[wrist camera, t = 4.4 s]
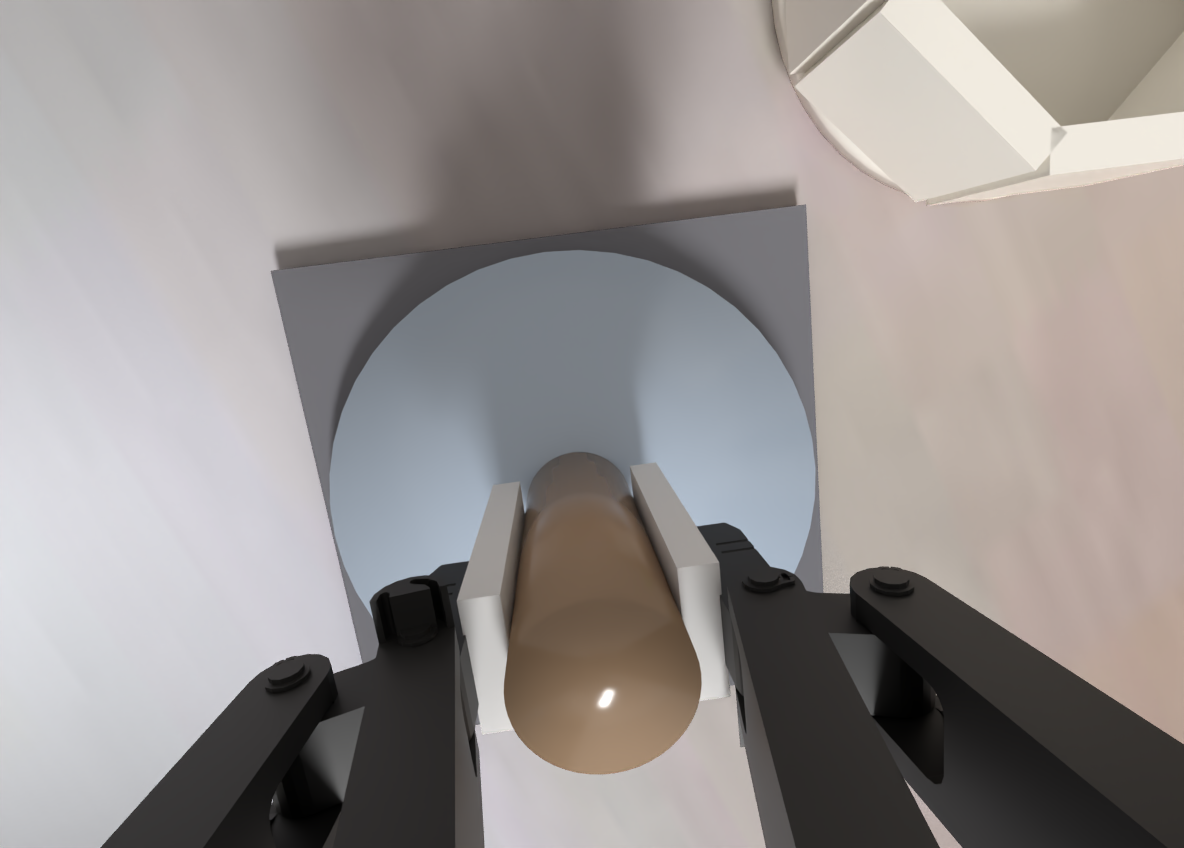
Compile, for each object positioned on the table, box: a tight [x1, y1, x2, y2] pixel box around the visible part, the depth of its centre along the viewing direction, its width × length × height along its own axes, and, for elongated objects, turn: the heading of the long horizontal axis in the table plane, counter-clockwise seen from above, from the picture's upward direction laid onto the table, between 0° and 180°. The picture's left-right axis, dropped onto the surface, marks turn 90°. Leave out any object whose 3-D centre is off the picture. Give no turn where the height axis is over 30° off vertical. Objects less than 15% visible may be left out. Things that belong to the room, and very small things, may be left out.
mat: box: [271, 205, 823, 725], centre depth 20 cm, size 16×16×1 cm
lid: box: [329, 250, 815, 774], centre depth 14 cm, size 15×15×10 cm
